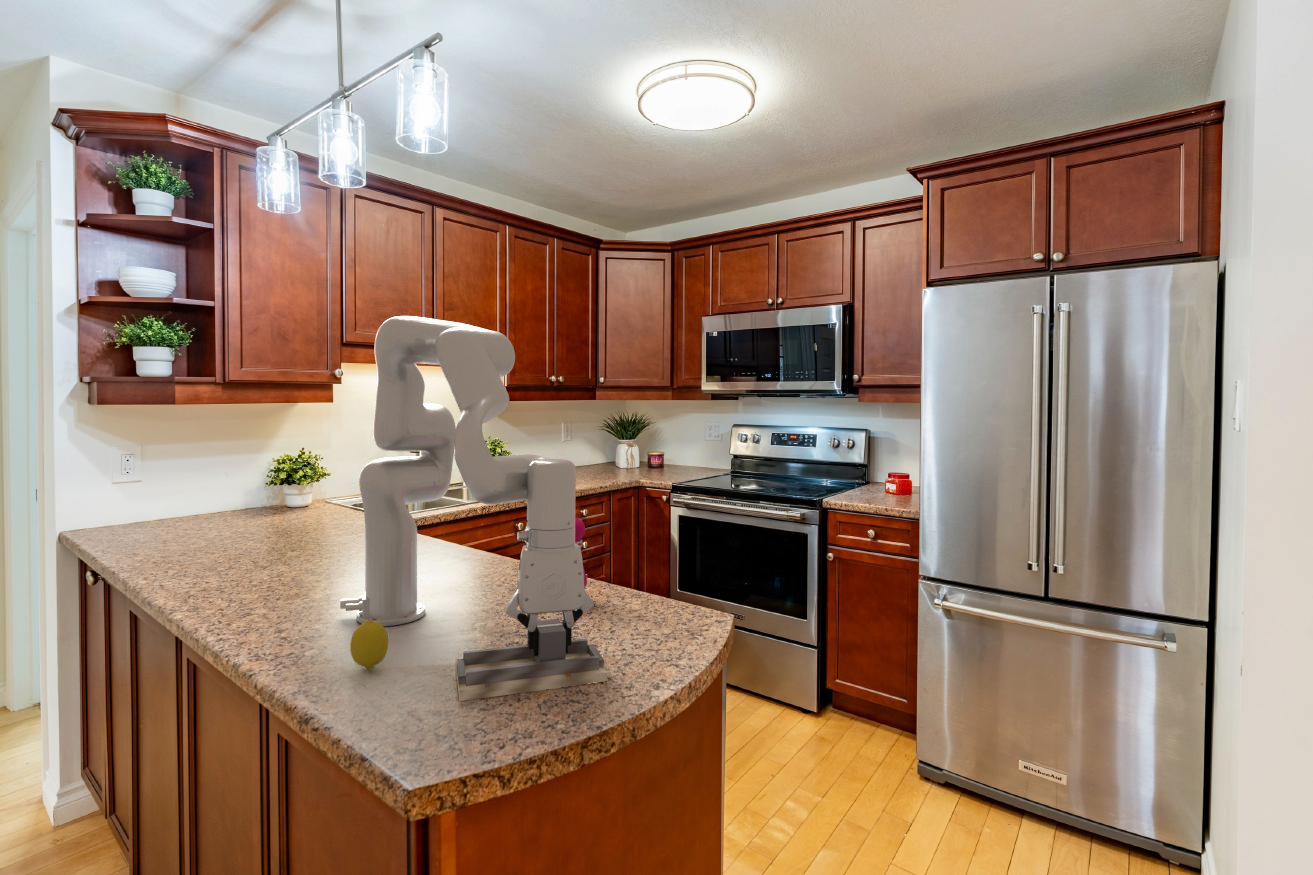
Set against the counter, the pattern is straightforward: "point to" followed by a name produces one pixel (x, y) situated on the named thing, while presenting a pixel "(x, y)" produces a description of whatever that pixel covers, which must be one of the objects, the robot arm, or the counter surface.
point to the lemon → (369, 644)
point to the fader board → (525, 670)
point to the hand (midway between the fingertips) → (549, 650)
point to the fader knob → (551, 640)
